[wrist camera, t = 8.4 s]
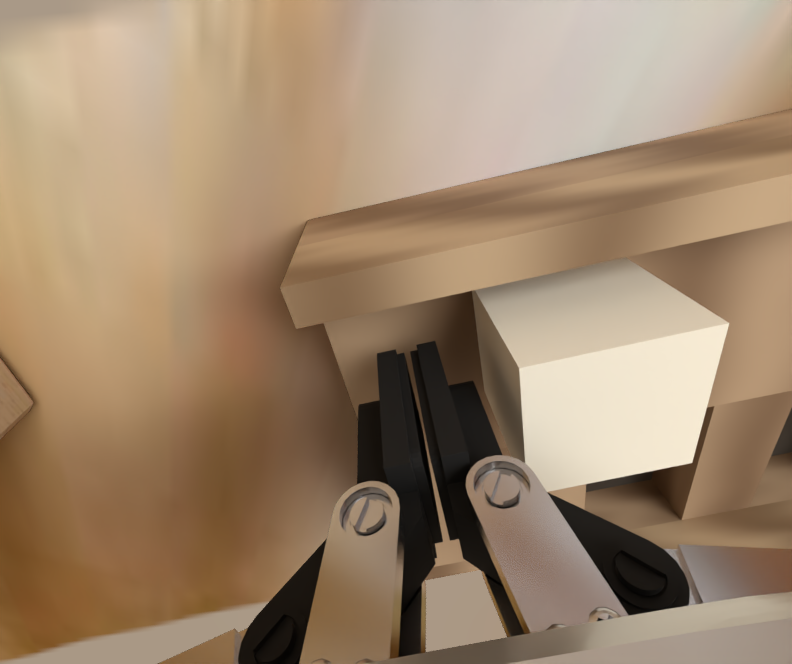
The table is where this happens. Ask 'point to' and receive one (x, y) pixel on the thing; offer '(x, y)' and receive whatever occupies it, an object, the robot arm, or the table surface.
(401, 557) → the robot arm
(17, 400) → the decorative block
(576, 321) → the ivory block
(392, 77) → the table surface
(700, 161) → the box
